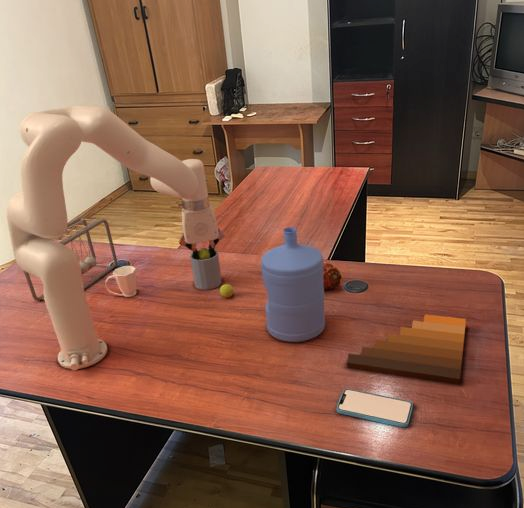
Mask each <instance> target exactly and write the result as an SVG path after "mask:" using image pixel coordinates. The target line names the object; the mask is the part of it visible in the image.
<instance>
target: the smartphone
mask: <svg viewBox="0 0 524 508" xmlns="http://www.w3.org/2000/svg"><path fill="white" fill-rule="evenodd" d="M413 407H414V404H413V402H412V401H410V400H407V399H402V398H398V397H397V398H396V397H392V396H387V395H383V394H378V393H377V394H376V393H372V392H367V391H363V390H357V389H352V388H344V389H343V391H342V393H341V396H340V398H339V401H338V402H337V405H336V412H337V413H338V414H341V415H346V416H349V417H355V418H359V419H363V420H369V421H372V422H376V423H382V424H386V425H391V426H395V427H400V428H406V427H408V426H409V423H410V419H411V416H412V412H413Z"/></svg>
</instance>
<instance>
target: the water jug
mask: <svg viewBox="0 0 524 508" xmlns="http://www.w3.org/2000/svg"><path fill="white" fill-rule="evenodd" d="M282 231H283V240H284V243H283V244H281V245H278V246H275V247H273V248H270V249H268V250H266V252H264V253H263V255H262V256H261V259H260V263H261V264H260V271H261V276H262V284H263V286H264V287H265V290H266V295H267V301H266V303H265V316H266V318H265V319H266V320H265V323H266V329H267V332H268V333H269V334H270V335H271V336H272V337H273V338H274V339H277V340H278V341H282V342H287V343H300V342H301V343H302V342H306V341H309V340H312V339H314V338H316V337H318V336H319V335H320V334H321V333H323V331H324V330H325V327H326V315H325V288H324V284H323V271H324V264H325V263H324V258H323V257H324V256H323V253H322V252H321V251H320V250H319V249H318V248H316V247H315V246H312V245H309V244H303V243H298V235H297V228H296V227H293V226H289V227H285V228H283V230H282ZM323 263H324V264H323Z"/></svg>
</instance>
